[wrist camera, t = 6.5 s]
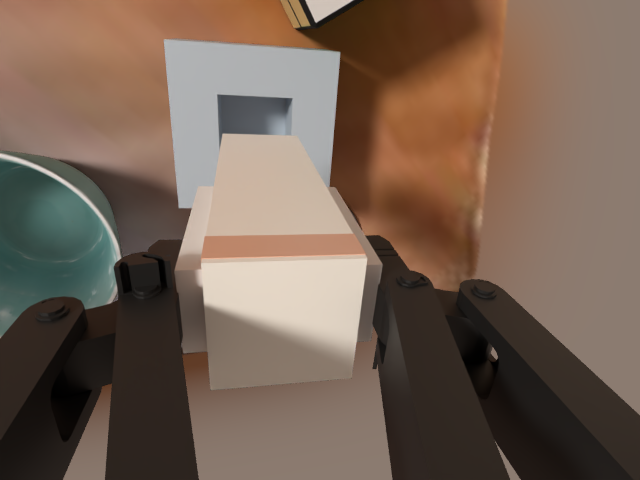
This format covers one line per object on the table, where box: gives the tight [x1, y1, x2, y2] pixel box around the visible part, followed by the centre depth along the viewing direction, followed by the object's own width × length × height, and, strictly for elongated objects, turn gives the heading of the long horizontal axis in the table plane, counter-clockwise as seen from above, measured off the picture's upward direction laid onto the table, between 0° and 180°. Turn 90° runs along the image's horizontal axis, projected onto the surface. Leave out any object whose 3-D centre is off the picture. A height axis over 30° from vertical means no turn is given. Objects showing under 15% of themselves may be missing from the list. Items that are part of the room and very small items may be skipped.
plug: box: [201, 134, 368, 390], centre depth 17 cm, size 4×4×14 cm
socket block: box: [164, 39, 340, 208], centre depth 33 cm, size 12×12×6 cm
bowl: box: [0, 151, 122, 338], centre depth 33 cm, size 16×16×8 cm
